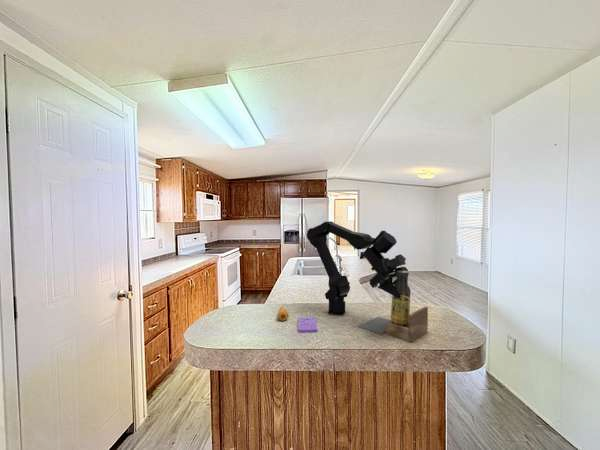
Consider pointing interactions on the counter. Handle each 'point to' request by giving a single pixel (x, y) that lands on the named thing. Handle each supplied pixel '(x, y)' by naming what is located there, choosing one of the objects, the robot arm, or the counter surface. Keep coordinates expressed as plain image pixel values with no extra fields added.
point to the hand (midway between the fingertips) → (404, 296)
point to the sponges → (307, 325)
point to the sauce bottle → (401, 300)
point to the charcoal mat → (376, 325)
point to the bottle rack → (410, 326)
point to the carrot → (282, 314)
